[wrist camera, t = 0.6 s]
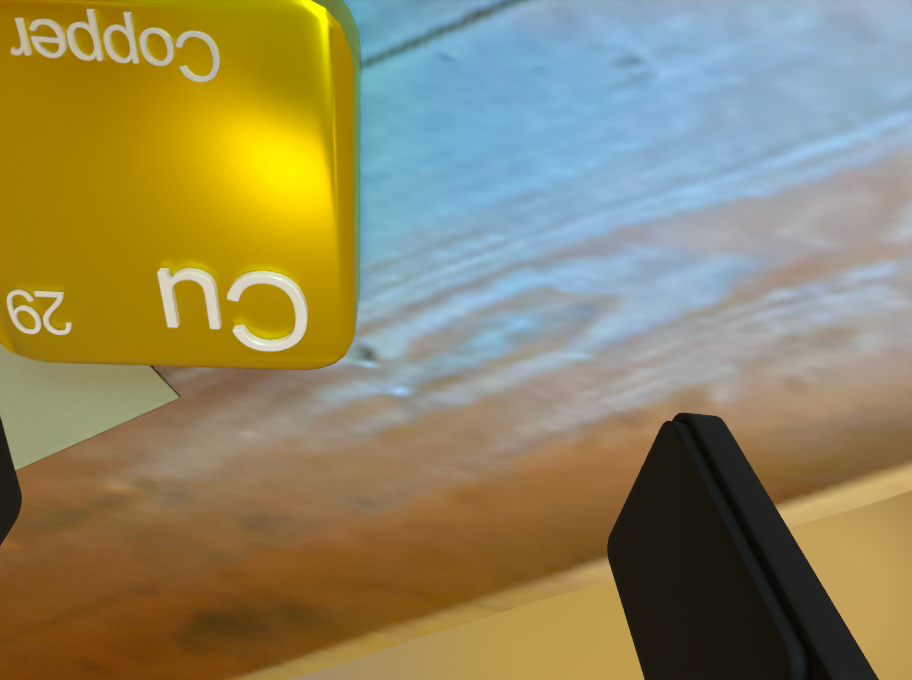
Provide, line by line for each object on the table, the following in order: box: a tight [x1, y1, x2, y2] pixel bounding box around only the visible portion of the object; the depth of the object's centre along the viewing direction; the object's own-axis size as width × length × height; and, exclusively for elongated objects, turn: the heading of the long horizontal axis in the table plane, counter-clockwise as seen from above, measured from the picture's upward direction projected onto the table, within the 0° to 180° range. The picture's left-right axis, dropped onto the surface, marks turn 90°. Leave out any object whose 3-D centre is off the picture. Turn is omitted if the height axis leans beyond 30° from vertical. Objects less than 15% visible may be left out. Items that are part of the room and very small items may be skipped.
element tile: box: [0, 0, 360, 370], centre depth 26 cm, size 15×15×5 cm
